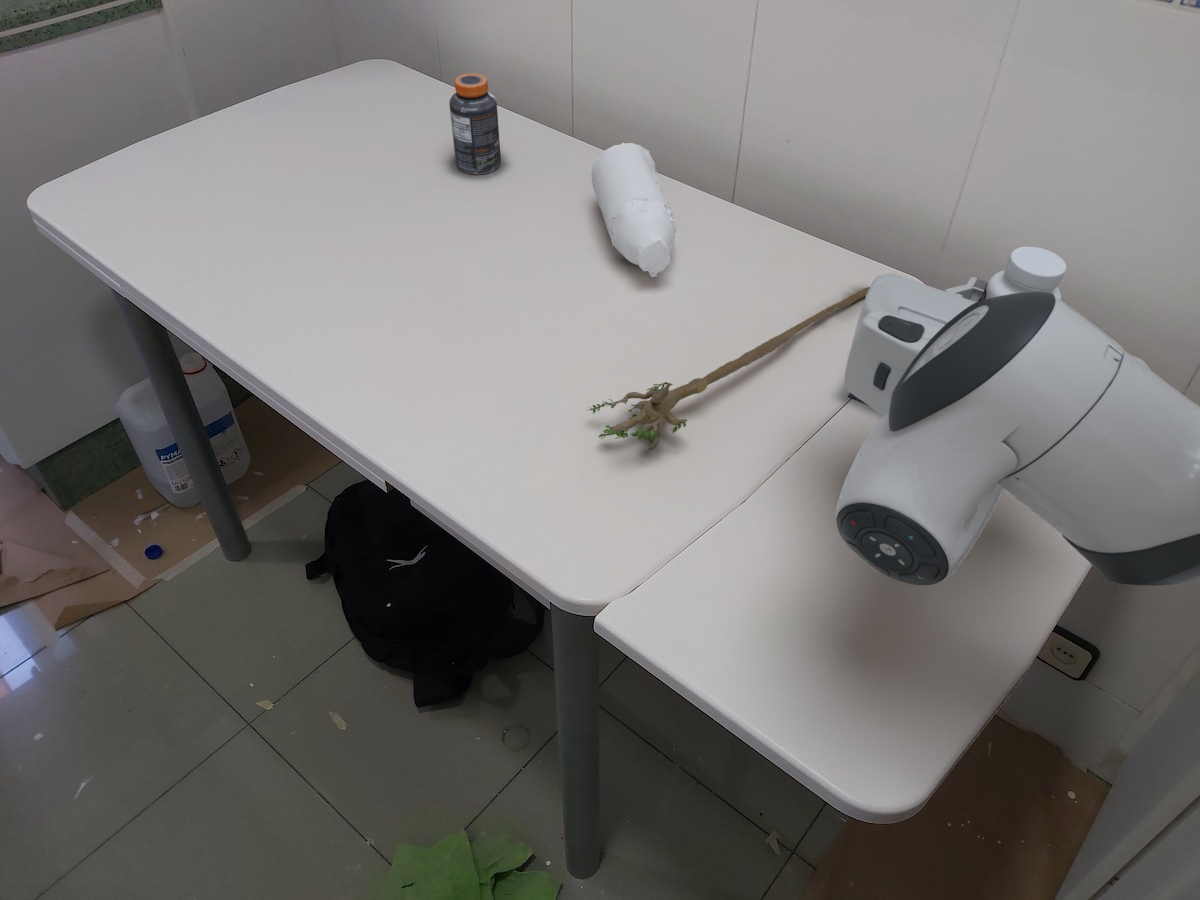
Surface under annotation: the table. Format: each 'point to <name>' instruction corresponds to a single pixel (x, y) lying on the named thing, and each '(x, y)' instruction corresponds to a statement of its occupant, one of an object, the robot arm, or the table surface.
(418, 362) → the table surface
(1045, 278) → the pill bottle
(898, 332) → the robot arm
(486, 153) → the pill bottle
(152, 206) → the table surface
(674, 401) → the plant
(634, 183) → the white bottle
